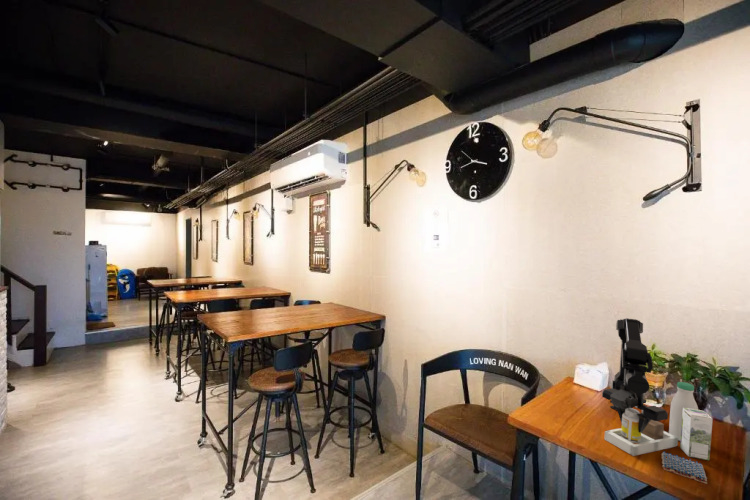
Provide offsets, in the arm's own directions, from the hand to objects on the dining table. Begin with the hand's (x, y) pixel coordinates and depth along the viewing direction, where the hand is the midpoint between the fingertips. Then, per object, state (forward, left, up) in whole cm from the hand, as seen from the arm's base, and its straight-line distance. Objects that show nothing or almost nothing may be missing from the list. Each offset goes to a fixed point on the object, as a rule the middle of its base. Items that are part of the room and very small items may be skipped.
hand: (631, 427), depth 121 cm
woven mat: (-3, +14, -7) cm, 16 cm away
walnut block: (-10, 0, -6) cm, 12 cm away
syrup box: (-16, +10, -6) cm, 20 cm away
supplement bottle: (0, 0, -4) cm, 4 cm away
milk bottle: (-24, +2, -6) cm, 25 cm away
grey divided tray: (-5, 0, -6) cm, 8 cm away
